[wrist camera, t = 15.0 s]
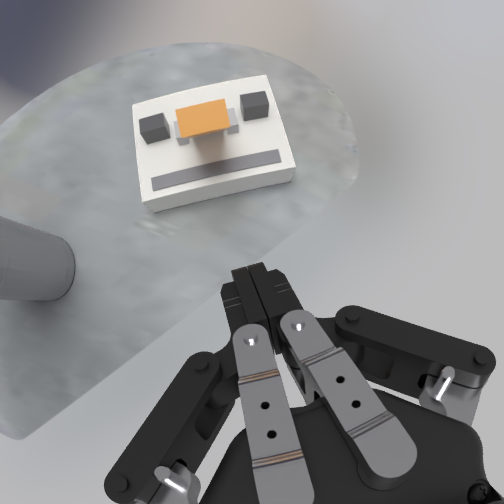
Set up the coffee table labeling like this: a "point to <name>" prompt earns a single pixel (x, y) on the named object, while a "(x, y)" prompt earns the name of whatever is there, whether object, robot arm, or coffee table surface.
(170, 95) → the white slotted plate
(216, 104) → the breaker handle
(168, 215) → the coffee table surface
